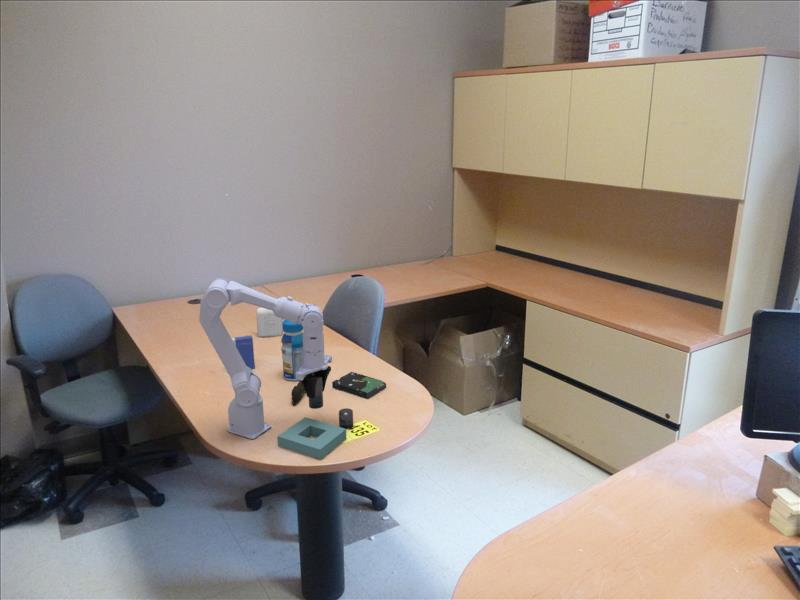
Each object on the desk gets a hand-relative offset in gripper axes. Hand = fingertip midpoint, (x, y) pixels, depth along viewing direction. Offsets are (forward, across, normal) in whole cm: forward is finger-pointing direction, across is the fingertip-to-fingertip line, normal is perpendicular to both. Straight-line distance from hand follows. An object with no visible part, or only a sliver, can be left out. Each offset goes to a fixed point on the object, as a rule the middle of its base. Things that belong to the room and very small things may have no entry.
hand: (315, 394), depth 165 cm
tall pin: (+4, 0, 0) cm, 4 cm away
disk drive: (+11, +27, +2) cm, 29 cm away
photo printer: (+10, +52, +60) cm, 80 cm away
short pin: (+10, +4, -8) cm, 13 cm away
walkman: (+10, +20, +46) cm, 52 cm away
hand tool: (+10, +15, +16) cm, 24 cm away
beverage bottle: (+10, +24, +26) cm, 37 cm away
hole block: (+10, -8, -4) cm, 14 cm away
